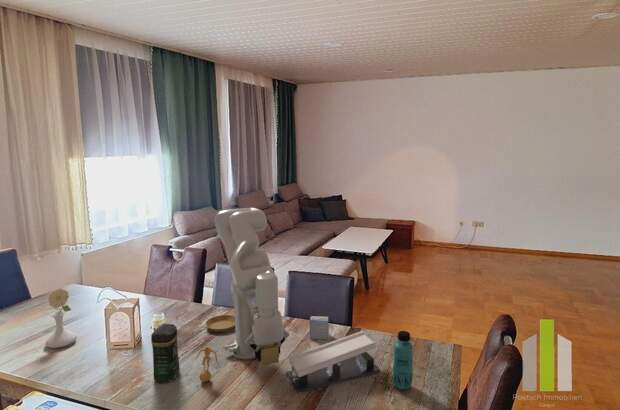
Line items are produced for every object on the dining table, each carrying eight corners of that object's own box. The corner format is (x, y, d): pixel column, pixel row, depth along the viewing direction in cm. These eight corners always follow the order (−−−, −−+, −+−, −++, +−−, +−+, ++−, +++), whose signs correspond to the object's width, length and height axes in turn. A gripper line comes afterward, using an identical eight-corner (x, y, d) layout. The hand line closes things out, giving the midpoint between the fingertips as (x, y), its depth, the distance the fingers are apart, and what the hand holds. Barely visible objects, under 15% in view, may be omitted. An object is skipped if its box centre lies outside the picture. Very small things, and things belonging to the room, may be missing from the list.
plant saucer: (202, 323, 187) (202, 318, 187) (233, 317, 194) (233, 312, 193) (209, 337, 174) (208, 331, 174) (242, 330, 180) (242, 324, 180)
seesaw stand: (297, 393, 134) (297, 375, 133) (286, 374, 145) (285, 357, 144) (380, 372, 146) (380, 355, 145) (363, 356, 157) (364, 340, 156)
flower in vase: (39, 347, 167) (32, 290, 163) (65, 335, 177) (58, 281, 173) (61, 353, 162) (54, 294, 158) (86, 340, 172) (80, 285, 168)
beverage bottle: (390, 382, 139) (391, 328, 136) (408, 381, 140) (410, 327, 137) (395, 394, 133) (396, 338, 130) (415, 393, 133) (416, 336, 130)
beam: (299, 377, 135) (298, 371, 134) (289, 362, 144) (288, 357, 143) (376, 347, 145) (375, 342, 145) (363, 336, 154) (362, 330, 153)
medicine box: (328, 335, 174) (328, 316, 173) (328, 340, 170) (328, 320, 168) (310, 334, 175) (310, 315, 174) (309, 339, 171) (309, 320, 169)
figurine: (192, 382, 141) (190, 351, 139) (200, 373, 147) (198, 342, 145) (213, 386, 139) (211, 353, 137) (221, 376, 145) (219, 345, 143)
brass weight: (261, 366, 136) (261, 350, 135) (257, 356, 141) (256, 341, 140) (278, 362, 138) (278, 346, 137) (273, 353, 144) (273, 337, 142)
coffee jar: (173, 383, 140) (169, 334, 138) (150, 383, 141) (146, 334, 138) (183, 368, 150) (179, 321, 147) (162, 368, 150) (158, 321, 147)
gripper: (244, 318, 129) (245, 369, 133) (294, 310, 136) (294, 358, 139) (239, 309, 136) (240, 356, 140) (287, 301, 143) (287, 347, 146)
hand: (267, 357), depth 140 cm, fingers closed on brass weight, 6 cm apart
